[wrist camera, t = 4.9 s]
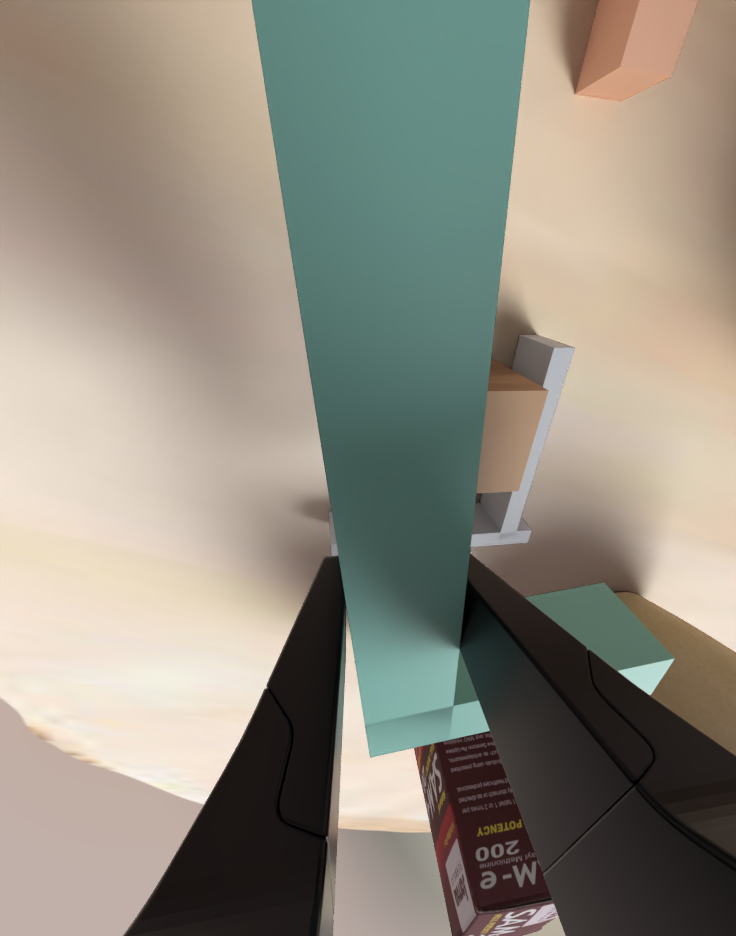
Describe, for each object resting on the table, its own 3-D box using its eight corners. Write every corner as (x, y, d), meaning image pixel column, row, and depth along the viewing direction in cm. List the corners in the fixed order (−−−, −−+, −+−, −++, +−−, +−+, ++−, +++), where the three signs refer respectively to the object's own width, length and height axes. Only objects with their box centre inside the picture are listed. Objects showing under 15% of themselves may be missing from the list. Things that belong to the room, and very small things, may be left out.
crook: (864, -64, 5) (1329, -328, 3) (589, 618, 14) (651, 694, 11) (247, -68, 4) (180, -452, 2) (357, 663, 13) (370, 757, 10)
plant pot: (494, 654, 33) (619, 925, 20) (607, 541, 27) (897, 821, 14) (600, 673, 38) (757, 901, 25) (715, 582, 32) (1005, 817, 19)
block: (495, 360, 19) (548, 390, 15) (477, 444, 21) (518, 491, 17) (402, 360, 18) (430, 392, 14) (395, 447, 21) (417, 496, 16)
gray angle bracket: (555, 335, 18) (595, 347, 16) (504, 512, 24) (527, 542, 22) (323, 333, 17) (325, 347, 14) (329, 523, 23) (331, 557, 20)
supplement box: (390, 575, 26) (476, 920, 13) (453, 567, 27) (602, 890, 13) (389, 645, 30) (452, 955, 17) (444, 637, 31) (547, 932, 17)
